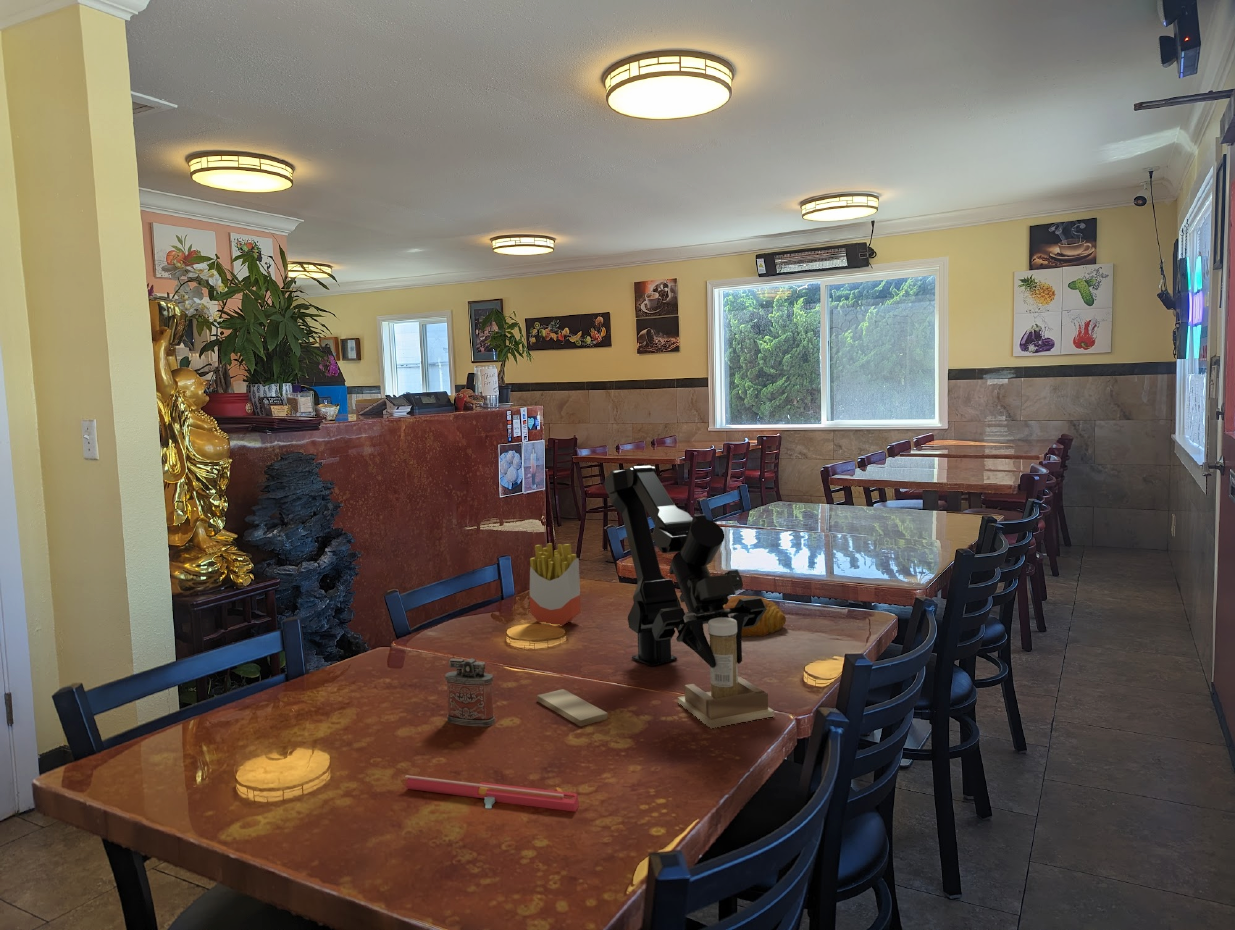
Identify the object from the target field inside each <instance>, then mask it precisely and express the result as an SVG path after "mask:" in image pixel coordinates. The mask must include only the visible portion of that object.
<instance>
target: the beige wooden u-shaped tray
mask: <svg viewBox="0 0 1235 930" xmlns="http://www.w3.org/2000/svg"><path fill="white" fill-rule="evenodd" d="M737 686H738V695H735V696H729V697H724V698H718V699H714V698H713V697H711V691H706V692H705V691H704V690H702V689H701V688H700V687H698V686H697V685H696V684H694V683H689V684H684V695H682V696H677V703H679V704H678V705H680V704H681V705H682V706H683V707H682V706H681V705H680V706H681V707H682V708H684V709H685V710H686V709H687V710H688V711H687V710H686V711H687V712H688V713H690V712H691V713H692V714H693V715H692V714H691V713H690V714H691V715H692V716H694V717H695V716H696V717H697V719H698V720H699V719H700V720H699V721H700V722H701V721H702V722H701V723H703V724H704V725H705V724H706V725H705V726H707V727H708V728H709V727H710V728H709V729H711V730H713V729H712V728H714V729H718V728H717V727H719V728H722V727H721V726H724V725H730V726H732V725H731V724H735V725H737V724H736V723H739V722H745V721H751V722H753V721H752V720H755V719H761V718H763V717H772V716H774V717H775V710H774V709H772V708H771V707H769V694H768V692H766V691H765V690H762V689H761V688H759V687H758V686H756V685H754V684H753V683H751V682H750V681H748V680H746V679H744V678H743V677H741V676H739V675H738V685H737ZM696 717H695V718H696ZM715 727H716V728H715Z"/></svg>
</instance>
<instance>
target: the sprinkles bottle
mask: <svg viewBox="0 0 1235 930" xmlns="http://www.w3.org/2000/svg"><path fill="white" fill-rule="evenodd" d="M707 628H708V630H707V631H708V635H709V646H710V648H711V651H712V653H713V656H714V659H715V662H716V666H715V667H714V668H711V667H710V666H709V677H710V679H709V680H710V692H711V697H713V698H714V699H718V698H724V697H729V696H735V695H738V686H737V685H738V676H739V674H738V673H739V671H738V663H737V645H736V635H737V621H736V620H734V619H732V618H714V619H711V620H709V622H708V624H707Z"/></svg>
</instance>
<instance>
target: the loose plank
mask: <svg viewBox="0 0 1235 930" xmlns="http://www.w3.org/2000/svg"><path fill="white" fill-rule="evenodd" d="M536 697H537V703H540V704H542V705H543V706H545V707H547V708H548V709H550V710H552V711H553V712H555V713H556V714H559V715H560V716H562V717H564V718H565V719H566V720H568V721H570V722H572V723H574V724H575V725H576V726H578V727H584V726H587V725H591V724H594V723H599V722H603V721H605V720H608V712H606V711H605V710H603V709H601V708H599V707H597V706H596V705H593V704H592V703H590V702H588V701H586V700H584V699H583V698H580V697H579V696H577V695H576V694H574V693H571V692H570V691H568V690H566V689H564V688H562V689H558V690H555V691H554V690H553V691H550V692H546V693H542V694H538V695H537V696H536Z"/></svg>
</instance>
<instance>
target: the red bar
mask: <svg viewBox="0 0 1235 930" xmlns="http://www.w3.org/2000/svg"><path fill="white" fill-rule="evenodd" d="M405 779H406V783H405V787H406V789H408V790H413V791H414V790H415V791H422V792H430V793H436V794H444V795H445V794H446V795H454V796H459V797H460V796H461V797H468V798H474V799H477V798H478V799H480V798H481V799H484V800H483V802H484V804H485V809H486V810H487V809H492V808H493V807H492V806H493V805H494V804H495V802H496V803H504V804H511V805H512V804H513V805H519V806H528V807H537V808H543V809H550V810H551V809H552V810H561V811H568V812H577V809H578V808H579V805H580V802H579V797H578V796H579V795H578V793H576V792H575V793H574V792H569V791H568V792H566V791H563V790H562V788H560V787H557V786H556V787H555V790H552V789H542V788H534V787H525V786H518V785H510V784H509V785H508V784H499V783H490V782H483V781H480V783H475V782H474V783H473V782H465V781H458V780H449V779H441V778H433V777H426V776H425V777H424V776H417V775H415V776H414V775H408V774H406V775H405ZM565 797H572V798H573V799H572V798H565Z"/></svg>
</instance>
